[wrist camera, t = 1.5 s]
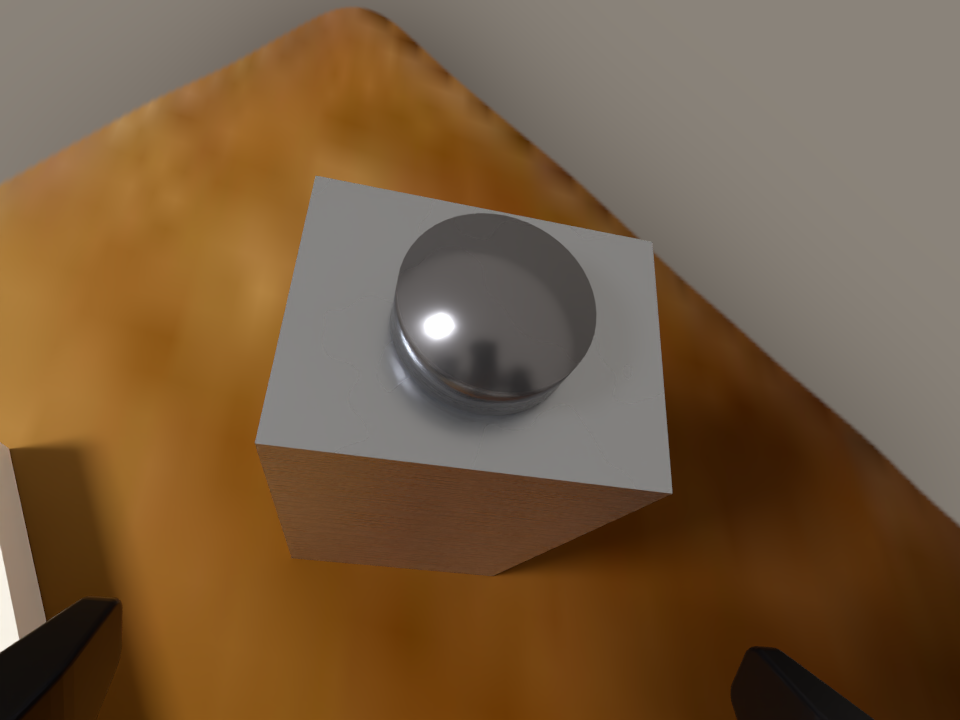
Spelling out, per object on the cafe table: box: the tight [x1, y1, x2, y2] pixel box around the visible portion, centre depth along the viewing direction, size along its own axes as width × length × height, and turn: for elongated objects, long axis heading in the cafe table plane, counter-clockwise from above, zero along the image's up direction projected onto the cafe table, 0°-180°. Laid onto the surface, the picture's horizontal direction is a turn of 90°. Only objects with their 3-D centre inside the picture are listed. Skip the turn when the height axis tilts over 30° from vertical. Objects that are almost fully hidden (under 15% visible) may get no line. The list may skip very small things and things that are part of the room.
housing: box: [255, 176, 672, 576], centre depth 15 cm, size 5×6×13 cm
